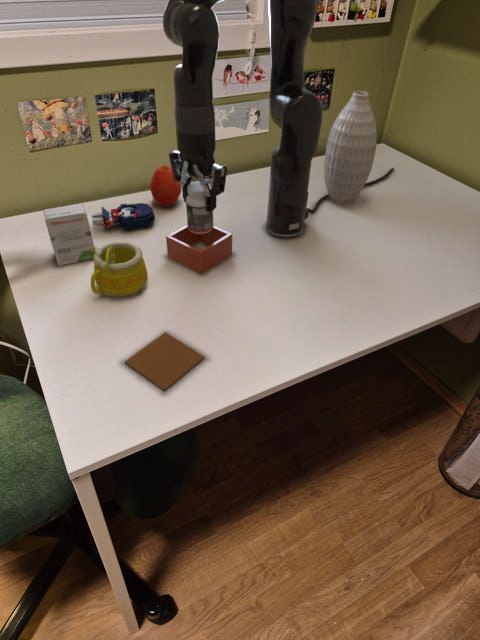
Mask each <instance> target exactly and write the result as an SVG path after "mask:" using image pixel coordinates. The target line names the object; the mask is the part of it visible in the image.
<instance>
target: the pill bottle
mask: <svg viewBox="0 0 480 640" xmlns="http://www.w3.org/2000/svg"><path fill="white" fill-rule="evenodd" d="M209 188H210V189H211V186H210V185H209ZM187 192H188V194H189V195H188V196H187V198H186V202H185V207H186V220H187V221H186V223H187V224H188V229H189V230H190V231H191V232H193V233H196V234H205V233H208V232H210V231H211V230H212V229H213V226H214V210H213V211H211V212H207V211H206V198H205V196H206V193H205V190H204V188H203V186H201V185H200V182H199V181H195V182H191V183H190V184H189V185H188V187H187Z"/></svg>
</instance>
